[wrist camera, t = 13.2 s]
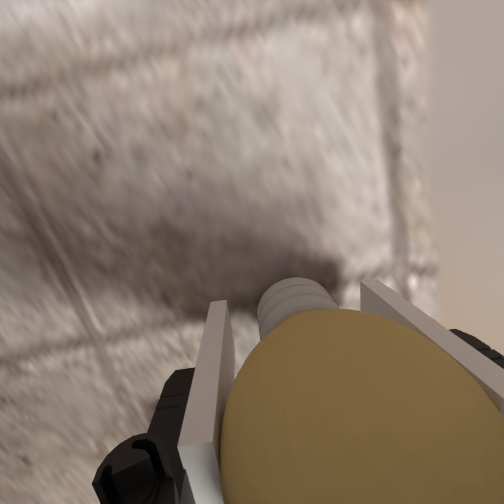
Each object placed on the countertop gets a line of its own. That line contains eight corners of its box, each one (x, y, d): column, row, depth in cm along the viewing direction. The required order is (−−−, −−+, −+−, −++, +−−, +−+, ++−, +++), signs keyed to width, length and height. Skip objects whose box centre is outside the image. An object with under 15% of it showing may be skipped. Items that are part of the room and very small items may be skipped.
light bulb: (204, 304, 12) (89, 711, 3) (300, 219, 12) (607, 408, 2) (284, 377, 14) (383, 802, 4) (376, 307, 13) (754, 658, 3)
